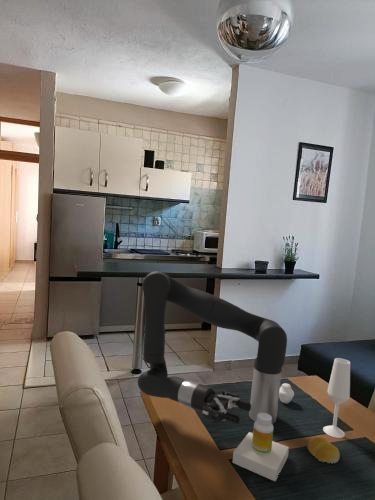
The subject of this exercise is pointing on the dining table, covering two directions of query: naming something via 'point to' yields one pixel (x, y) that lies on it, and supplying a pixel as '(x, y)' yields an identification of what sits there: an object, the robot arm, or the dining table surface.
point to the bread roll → (323, 450)
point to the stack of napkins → (261, 458)
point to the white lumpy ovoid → (285, 393)
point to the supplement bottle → (262, 434)
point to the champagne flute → (338, 392)
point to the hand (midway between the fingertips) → (245, 413)
